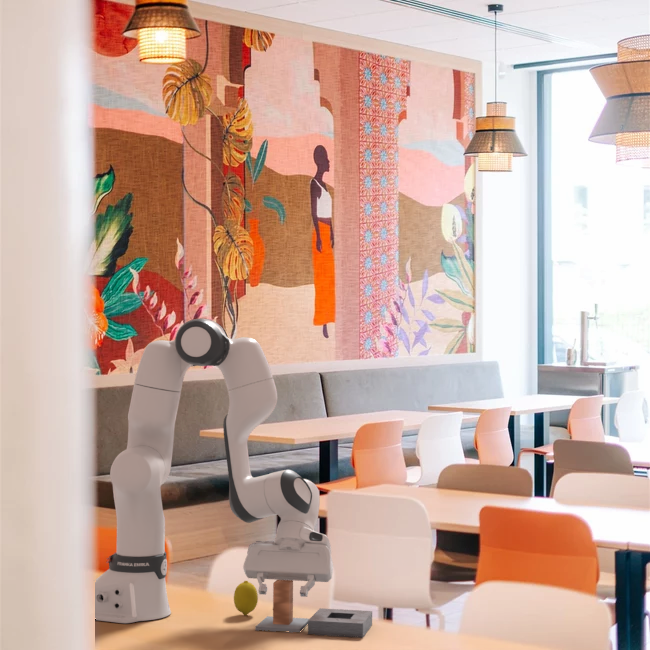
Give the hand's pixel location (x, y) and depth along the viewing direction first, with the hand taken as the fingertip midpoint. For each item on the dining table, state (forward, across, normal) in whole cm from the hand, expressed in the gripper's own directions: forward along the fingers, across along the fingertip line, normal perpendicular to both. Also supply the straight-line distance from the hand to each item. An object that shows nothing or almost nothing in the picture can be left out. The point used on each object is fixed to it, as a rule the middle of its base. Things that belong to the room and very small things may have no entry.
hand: (282, 594), depth 235 cm
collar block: (+5, +13, +6) cm, 15 cm away
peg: (+4, 0, +5) cm, 6 cm away
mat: (+5, 0, +6) cm, 7 cm away
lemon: (-1, -11, +11) cm, 16 cm away
